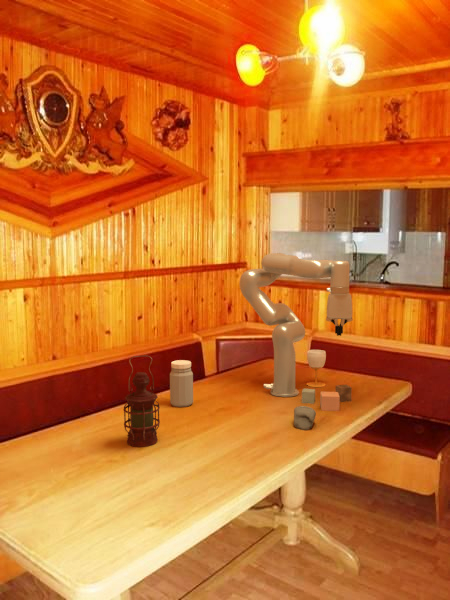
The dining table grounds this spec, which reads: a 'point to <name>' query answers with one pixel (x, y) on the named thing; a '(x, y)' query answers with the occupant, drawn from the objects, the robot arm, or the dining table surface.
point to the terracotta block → (330, 401)
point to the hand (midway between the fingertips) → (338, 335)
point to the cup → (316, 364)
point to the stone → (304, 417)
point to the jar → (181, 383)
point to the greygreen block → (308, 396)
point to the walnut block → (344, 392)
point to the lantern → (141, 411)
